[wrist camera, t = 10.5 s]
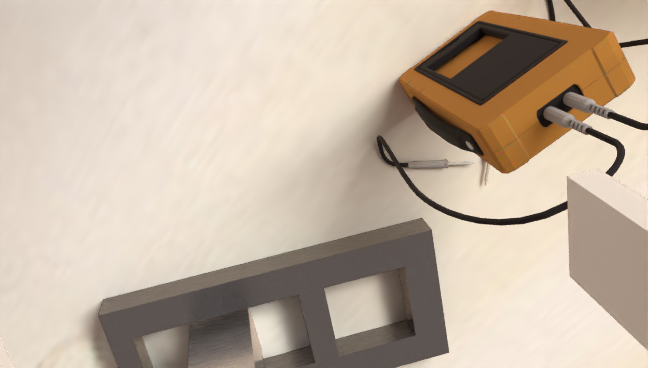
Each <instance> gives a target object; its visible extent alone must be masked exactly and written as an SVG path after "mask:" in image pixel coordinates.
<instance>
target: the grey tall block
mask: <svg viewBox="0 0 648 368" xmlns="http://www.w3.org/2000/svg"><path fill="white" fill-rule="evenodd" d="M187 368H264V365H263V357H262V350H261V346H260V342H259V339H258V336H257V332H256V329H255V325H254V322H253V319H252V315H251V312H250V309H249V308H246V309H242V310H238V311H234V312H230V313H227V314H223V315H219V316H215V317H211V318H208V319H204V320H200V321H196V322H192V323H190V330H189V349H188V367H187Z"/></svg>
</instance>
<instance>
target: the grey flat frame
mask: <svg viewBox="0 0 648 368" xmlns="http://www.w3.org/2000/svg"><path fill="white" fill-rule="evenodd" d="M398 268H399V273H400V279H401V285H402V291H403V297H404V303H405V309H406V315H407V320H406V321H402V322H398V323H395V324H391V325H387V326H384V327H380V328H376V329H372V330H369V331H365V332H361V333H358V334H354V335H350V336H347V337H343V338H339V339H336V340H335V336H334V332H333V327H332V323H331V318H330V314H329V309H328V305H327V300H326V296H325V291H324V288H326V287H329V286H333V285H337V284H341V283H345V282H349V281H352V280H356V279H360V278H364V277H368V276H371V275H375V274H379V273H383V272H387V271H390V270H394V269H398ZM295 295H299V299H300V303H301V307H302V311H303V315H304V319H305V324H306V328H307V332H308V336H309V340H310V344H311V346H310V347H306V348H302V349H299V350H295V351H291V352H288V353H284V354H280V355H277V356H273V357H269V358H266V359H263V365H264V368H395V367H399V366H402V365H406V364H410V363H413V362H417V361H420V360H424V359H428V358H431V357H435V356H438V355H442V354H446V353H449V348H448V341H447V334H446V327H445V320H444V313H443V306H442V299H441V292H440V285H439V278H438V271H437V264H436V257H435V250H434V243H433V236H432V230H431V228H430V227H429V226H428V225H427V223H426V222H425V221H424V220H423V219H422V218H420V219H416V220H412V221H408V222H404V223H400V224H396V225H393V226H389V227H385V228H381V229H377V230H373V231H369V232H365V233H361V234H357V235H353V236H350V237H346V238H342V239H338V240H334V241H330V242H326V243H322V244H318V245H314V246H310V247H307V248H303V249H299V250H295V251H291V252H287V253H283V254H279V255H275V256H271V257H267V258H264V259H260V260H256V261H252V262H248V263H244V264H240V265H236V266H232V267H228V268H224V269H220V270H217V271H213V272H209V273H205V274H201V275H197V276H193V277H189V278H185V279H181V280H177V281H174V282H170V283H166V284H162V285H158V286H154V287H150V288H146V289H142V290H138V291H134V292H131V293H127V294H123V295H119V296H115V297H111V298H107V299H103V302H102V305H101V309H100V312H99V315H98V316H99V319H100V321H101V324H102V326H103V329H104V332H105V334H106V337H107V339H108V342H109V344H110V347H111V350H112V352H113V355H114V357H115V360H116V363H117V365H118V368H153V366H152V364H151V361H150V358H149V355H148V353H147V350H146V347H145V344H144V342H143V339H142V336H143V335H147V334H151V333H154V332H158V331H162V330H166V329H170V328H173V327H177V326H181V325H185V324H189V323H192V322H196V321H200V320H204V319H208V318H211V317H215V316H219V315H223V314H227V313H230V312H234V311H238V310H242V309H246V308H250V307H253V306H257V305H261V304H265V303H269V302H272V301H276V300H280V299H284V298H288V297H291V296H295Z"/></svg>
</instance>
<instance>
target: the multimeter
mask: <svg viewBox="0 0 648 368" xmlns="http://www.w3.org/2000/svg"><path fill="white" fill-rule="evenodd" d="M547 1H548V5H549V10H550V16H551V21H550V20H544V19H538V18H532V17H526V16H520V15H513V14H507V13H501V12H495V11H488V12H486V13H484V14H483V15H481V16H480V17H479V18H477V19H476V20H474V22H473V23H472V24H470V25H469V26H468V27H466V28H465V29H464V30H462V31H461V32H460V33H458V34H457V35H456V36H454V37H453V38H452V39H450V40H449V41H448V42H446V43H445V44H444V45H442V46H441V47H440V48H438V49H437V50H436V51H434V52H433V53H432V54H430V55H429V56H428V57H426V58H425V59H424V60H422V61H421V62H420V63H418V64H417V65H416V66H414V67H413V68H410V69H409V70H408V71H407V72H405V73H404V74H403V75H402V76H401V77H400V80H399V83H400V84H401V86H402V87H403V89H404V90H405V92H406V93H407V95H408V96H409V98H410V99H411V101H412V102H413V104H414V105H415V109H416V111H417V112H418V114H419V115H420V117H421V118H422V119H423V121H424V122H425V123H426V125H427V126H428V127H429V128H430V129H431V130H432V131H433V132H435V133H436V134H438V135H439V136H440V137H442V138H443V139H444V140H446V141H447V142H449V143H450V144H452V145H454V146H456V147H458V148H460V149H462V150H466V151H470V152H473V153H475V154H477V155H478V156H479V157H481V158H482V159H483V160H485V161H486V162H488V164H487V169H486V175H485V185H486V183H487V180H488V175H489V169H490V165H492V166H493V167H494V168H496V169H497V170H499V171H500V172H501V173H510V172H512V171H515V170H516V169H518V168H519V167H521V166H522V165H524V164H525V163H527V162H528V161H529V160H530V159H531V158H532V157H534V156H535V155H537V154H538V153H539V152H541V151H542V150H543V149H545V148H546V147H548V146H549V145H550V144H552V143H553V142H554V141H556V140H557V139H559V138H560V137H561V136H563V135H564V134H566V133H567V132H568V131H570V130H571V129H574V130H577V131H579V132H581V133H583V134H585V135H592V136H594V137H596V138H598V139H600V140H602V141H605V142H607V143H609V144H611V145H613V146H615V147H616V149H617V157H616V160H615V162H614V163H613V165H612V166H611V167H610V168H609V170H608V171H607V172H606V174H608V175H609V176H611V177H612V176H613V175H614V174H615V173H616V171H617V170H618V168H619V167H620V165H621V164H622V162H623V159H624V156H625V149H624V146H623V145H622V144H621V143H620V142H619V141H618V140H617V139H614V138H612V137H610V136H608V135H605V134H603V133H601V132H599V131H596V130H594V129H592V127H591V126H589V125H587V124H585V123H582V121H583V120H585V119H586V118H588V117H589V116H590V115H592V114H593V113H594V114H597V115H599V116H602V117H604V118H607V119H614V120H616V121H619V122H621V123H624V124H626V125H629V126H631V127H634V128H637V129H640V130H648V124H645V123H640V122H638V121H635V120H633V119H630V118H627V117H625V116H622V115H619V114H617V113H614V111H613V110H611V109H608V108H605V107H603V106H604V105H606V104H607V103H608V102H610V101H611V100H612V99H614V98H615V97H618V96H619V95H621V94H622V93H623V92H624V91H626V90H627V89H628V88H630V86H631V85H632V84H633V83H634V81H635V76H634V74H633V72H632V70H631V68H630V66H629V64H628V62H627V59H626V57H625V55H624V53H623V51H622V49H621V48H623V47H630V46H637V45H645V44H648V39H643V40H636V41H630V42H624V43H618V41H617V39H616V37H615V35H614V33H613V32H610V31H605V30H599V29H594V28H591V27H590V25H589V24H588V23H587V21H586V20H585V19H584V18H583V16H582V15H581V14H580V13H579V11H578V10H577V9H576V7H575V6H574V5H573V4H572V2H571V1H570V0H564V1H565V2H566V3H567V5H568V6H569V7H570V9H571V10H572V11H573V13H574V14H575V15H576V16H577V18H578V19H579V20H580V22H581V23H582V24H583V26H584V27H583V26H577V25H572V24H566V23H561V22H555V14H554V8H553V3H552V0H547ZM377 143H378V147H379V150H380V153H381V155H382V157H383V159H384V160H385V161H386V162H387V163H388V164H390V165H392V166H396V167H397V169H398V170H399V172H400V174H401V175H402V177H403V178H404V180H405V181H406V183H407V184H408V185H409V187H410V188H411V189H412V191H413V192H414V193H415V194H416V195H417V196H418V197H419V198H420V199H422V200H423V201H424V202H425V203H427V204H428V205H430V206H431V207H433V208H435V209H437V210H438V211H440V212H442V213H444V214H447V215H449V216H452V217H455V218H458V219H461V220H465V221H469V222H474V223H478V224H490V225H515V224H525V223H529V222H533V221H538V220H542V219H546V218H548V217H551V216H553V215H555V214H557V213H560V212H562V211H564V210H566V209H568V201H566V202H564V203H562V204H560V205H558V206H555V207H553V208H551V209H549V210H546V211H544V212H541V213H537V214H533V215H529V216H525V217H521V218H509V219H487V218H478V217H473V216H469V215H464V214H461V213H458V212H455V211H452V210H449V209H447V208H445V207H443V206H441V205H439V204H437V203H435V202H434V201H432V200H431V199H429V198H428V197H426V196H425V195H424V194H423V193H421V192H420V191H419V190H418V189H417V187H416V186H415V185H414V184H413V183H412V181H411V180H410V178H409V177H408V176H407V174H406V173H405V171H404V170H403V168H402V167H408V168H443V167H444V168H448V165H470V164H474V163H473V162H448V160H447V159H445V160H441V161H414V162H408V163H399V162H398V160H397V159H396V157H395V156H394V154H393V152H392V151H391V149H390V148H389V146H388V145H387V143H386V142H385V140H384V139H383V137H382V136H379V135H378V137H377ZM381 143H382V144H383V146H384V148H385V149H386V151H387V152H388V154H389V156H390V157H391V159H392V161H393V162H392V161H390V160H389V159H388V158H387V157H386V156H385V154H384V151H383V148H382V144H381Z"/></svg>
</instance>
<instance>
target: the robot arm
mask: <svg viewBox="0 0 648 368" xmlns="http://www.w3.org/2000/svg"><path fill="white" fill-rule="evenodd" d="M567 200H568V235H569V270H570V277H571V278H572V279H573V280H574V281H575V282H576V283H577V284H578V285H579V286H581V287H582V288H583V289H584V290H585V291H586V292H587V293H588V294H589V295H590V296H591V297H592V298H593V299H594V300H595V301H596V302H597V303H598V304H599V305H600V306H602V307H603V308H604V309H605V310H606V311H607V312H608V313H609V314H610V315H611V316H612V317H613V318H614V319H615V320H616V321H617V322H618V323H619V324H620V325H621V326H623V327H624V328H625V329H626V330H627V331H628V332H629V333H630V334H631V335H632V336H633V337H634V338H635V339H636V340H637V341H638V342H639V343H640V344H641V345H642V346H644V347H645V348H646V349H647V350H648V199H647V198H646V197H644V196H642V195H641V194H639V193H637V192H636V191H634V190H632V189H631V188H629V187H627V186H626V185H624V184H622V183H621V182H619V181H617V180H616V179H614V178H613V177H611V176H609V175H608V174H606V173H604V172H603V171H601V170H599V169H594V170H589V171H585V172H581V173H577V174H573V175H569V176H567ZM0 368H15V366H14V364H13V362H12V360H11V358H10V356H9V354H8V352H7V349H6V347H5V345H4V343H3V341H2V339H1V337H0Z"/></svg>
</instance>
